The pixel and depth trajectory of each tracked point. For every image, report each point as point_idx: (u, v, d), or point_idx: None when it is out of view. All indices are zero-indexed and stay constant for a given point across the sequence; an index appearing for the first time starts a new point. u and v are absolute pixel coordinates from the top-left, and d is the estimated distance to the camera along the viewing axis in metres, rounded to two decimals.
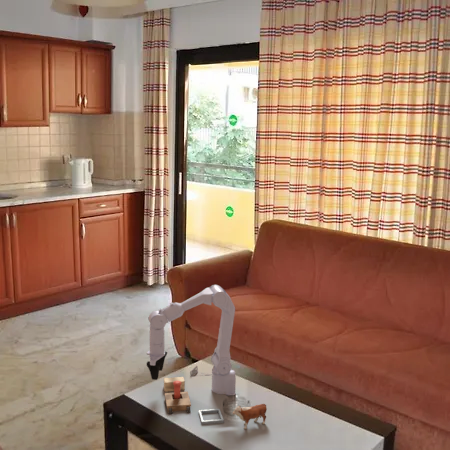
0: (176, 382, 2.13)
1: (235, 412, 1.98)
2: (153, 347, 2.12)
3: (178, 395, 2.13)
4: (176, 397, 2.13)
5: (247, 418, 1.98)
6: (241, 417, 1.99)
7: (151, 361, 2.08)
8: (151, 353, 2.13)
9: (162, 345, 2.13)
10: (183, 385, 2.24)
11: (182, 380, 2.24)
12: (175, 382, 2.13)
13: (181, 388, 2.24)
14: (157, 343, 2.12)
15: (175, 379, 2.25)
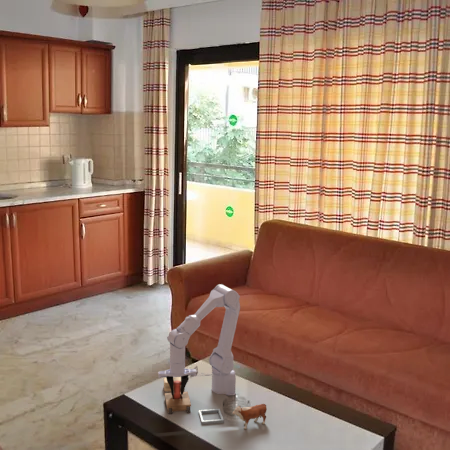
0: (176, 382, 2.13)
1: (235, 412, 1.98)
2: None
3: (178, 395, 2.13)
4: (176, 397, 2.13)
5: (247, 418, 1.98)
6: (241, 417, 1.99)
7: (158, 373, 2.11)
8: None
9: (174, 365, 2.09)
10: None
11: None
12: (175, 382, 2.13)
13: None
14: (180, 362, 2.09)
15: (175, 379, 2.25)
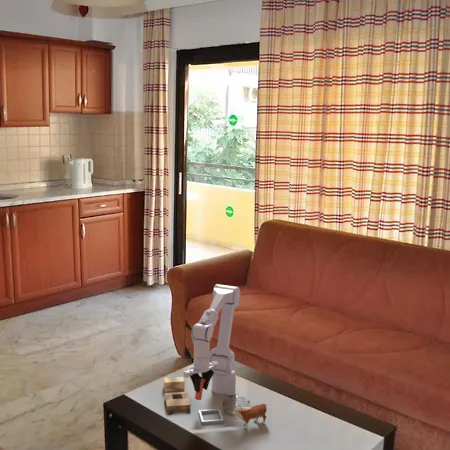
0: None
1: (235, 412, 1.98)
2: (194, 359, 2.02)
3: (201, 391, 2.05)
4: (200, 394, 2.04)
5: (247, 418, 1.98)
6: (241, 417, 1.99)
7: (184, 372, 1.99)
8: (193, 365, 2.03)
9: (202, 360, 2.00)
10: (183, 385, 2.24)
11: (182, 380, 2.24)
12: None
13: (181, 388, 2.24)
14: (208, 355, 2.01)
15: (175, 379, 2.25)
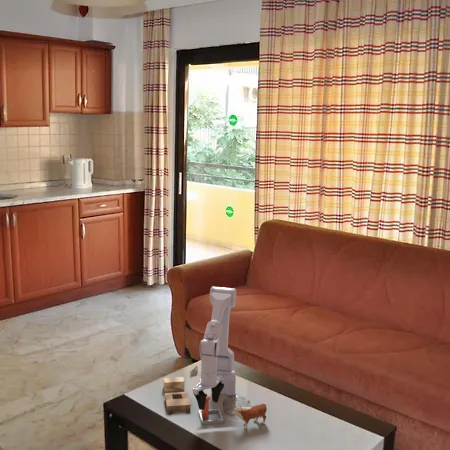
0: None
1: (235, 412, 1.98)
2: (202, 375, 2.00)
3: (208, 410, 2.04)
4: (207, 413, 2.03)
5: (247, 418, 1.98)
6: (241, 417, 1.99)
7: (194, 389, 1.97)
8: (201, 381, 2.01)
9: (211, 376, 1.98)
10: (183, 385, 2.24)
11: (182, 380, 2.24)
12: None
13: (181, 388, 2.24)
14: (216, 370, 2.00)
15: (175, 379, 2.25)
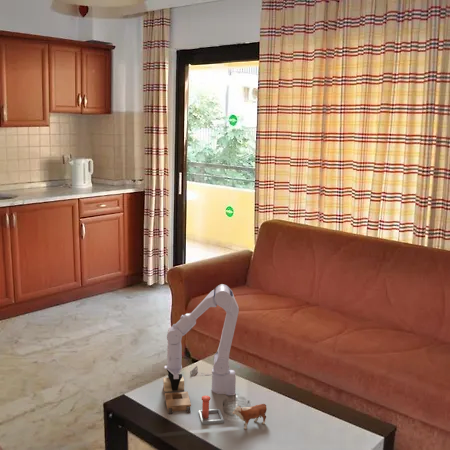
0: (205, 397, 2.03)
1: (235, 412, 1.98)
2: (172, 361, 2.20)
3: (208, 410, 2.04)
4: (207, 413, 2.03)
5: (247, 418, 1.98)
6: (241, 417, 1.99)
7: (175, 375, 2.16)
8: (170, 367, 2.21)
9: (180, 358, 2.22)
10: (183, 385, 2.23)
11: (182, 380, 2.24)
12: (204, 398, 2.03)
13: (181, 388, 2.24)
14: (173, 357, 2.20)
15: None
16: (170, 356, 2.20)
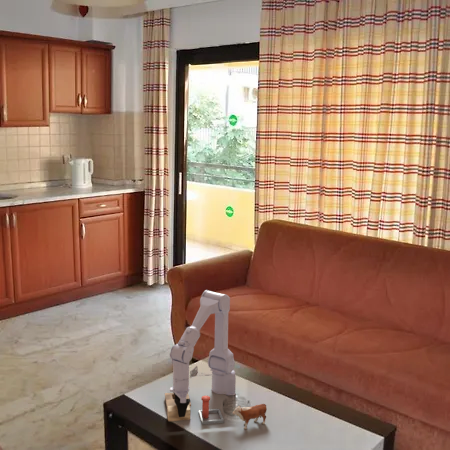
0: (205, 397, 2.03)
1: (235, 412, 1.98)
2: (179, 383, 1.98)
3: (208, 410, 2.04)
4: (207, 413, 2.03)
5: (247, 418, 1.98)
6: (241, 417, 1.99)
7: (182, 398, 1.95)
8: (177, 390, 1.99)
9: (188, 379, 2.00)
10: (189, 414, 2.02)
11: (188, 409, 2.02)
12: (204, 398, 2.03)
13: (186, 417, 2.02)
14: (186, 377, 1.99)
15: None
16: (184, 377, 1.98)
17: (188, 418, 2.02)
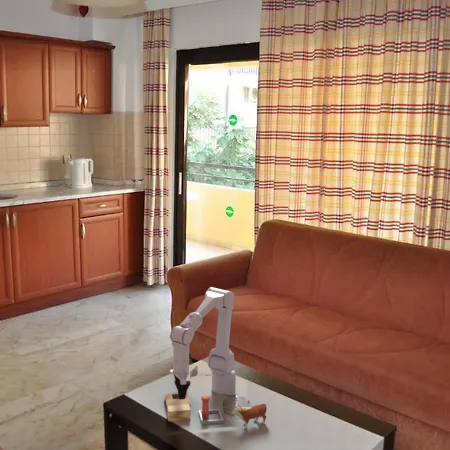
0: (204, 397, 2.03)
1: (235, 412, 1.98)
2: (179, 364, 1.97)
3: (208, 410, 2.04)
4: (206, 413, 2.03)
5: (247, 418, 1.98)
6: (241, 417, 1.99)
7: (182, 380, 1.93)
8: (177, 371, 1.98)
9: (188, 361, 1.99)
10: (189, 414, 2.02)
11: (188, 409, 2.02)
12: (204, 398, 2.03)
13: (187, 417, 2.02)
14: (187, 359, 1.98)
15: (180, 407, 2.03)
16: (184, 359, 1.97)
17: (188, 418, 2.02)
